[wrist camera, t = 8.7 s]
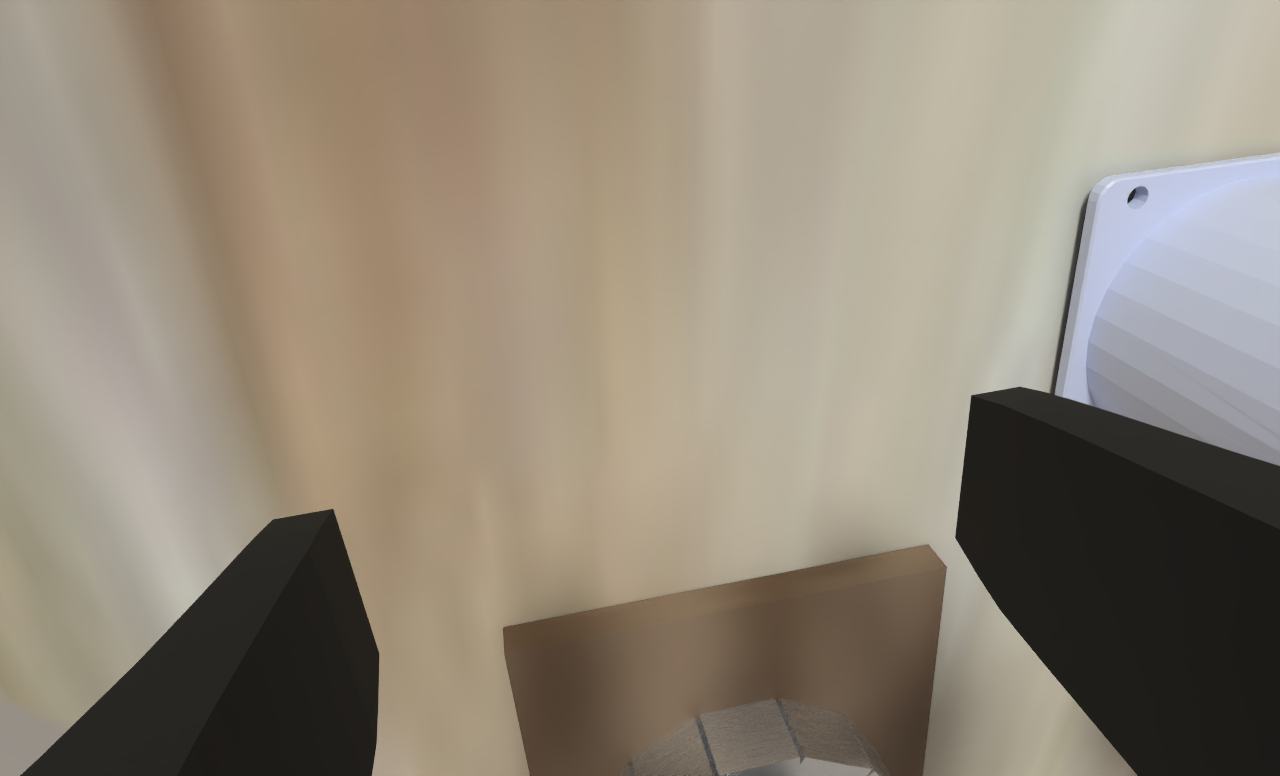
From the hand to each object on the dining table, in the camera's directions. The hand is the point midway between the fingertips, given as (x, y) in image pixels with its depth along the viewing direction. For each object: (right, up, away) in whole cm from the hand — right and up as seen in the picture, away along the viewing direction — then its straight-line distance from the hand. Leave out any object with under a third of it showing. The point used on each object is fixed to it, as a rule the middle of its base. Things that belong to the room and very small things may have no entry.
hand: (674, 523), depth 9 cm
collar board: (+3, -11, +17) cm, 20 cm away
